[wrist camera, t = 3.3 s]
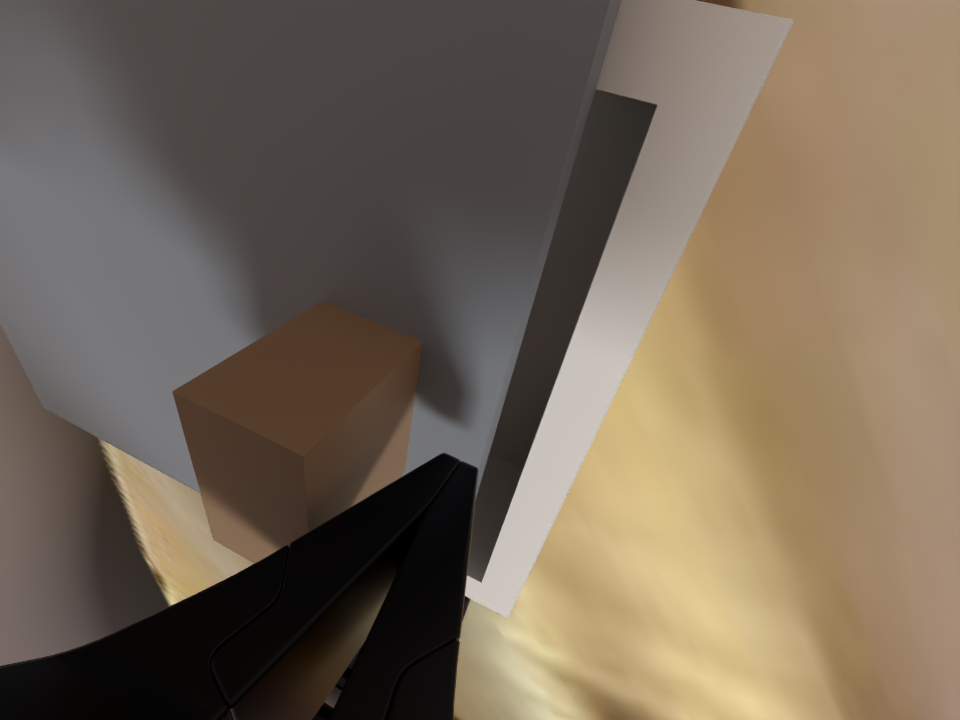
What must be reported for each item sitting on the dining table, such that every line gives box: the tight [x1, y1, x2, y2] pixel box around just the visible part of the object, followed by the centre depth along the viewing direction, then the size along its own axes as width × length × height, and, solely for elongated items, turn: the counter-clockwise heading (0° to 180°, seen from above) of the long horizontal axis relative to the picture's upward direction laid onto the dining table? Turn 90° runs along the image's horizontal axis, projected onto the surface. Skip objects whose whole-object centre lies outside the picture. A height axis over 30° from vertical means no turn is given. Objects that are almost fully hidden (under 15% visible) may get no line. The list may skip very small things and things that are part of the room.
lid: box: [0, 0, 622, 563], centre depth 11 cm, size 17×18×4 cm
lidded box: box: [465, 0, 794, 618], centre depth 15 cm, size 16×18×6 cm
